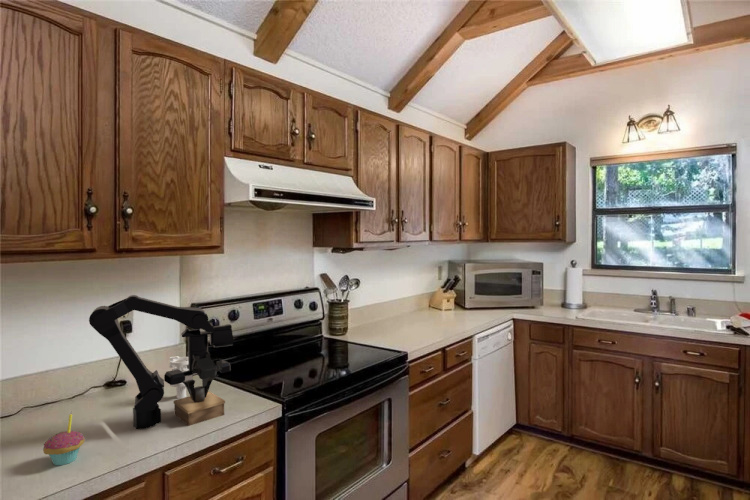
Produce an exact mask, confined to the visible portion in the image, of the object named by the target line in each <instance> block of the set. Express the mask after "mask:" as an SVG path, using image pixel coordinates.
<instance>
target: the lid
mask: <svg viewBox="0 0 750 500" xmlns="http://www.w3.org/2000/svg"><path fill="white" fill-rule="evenodd" d="M194 390H195V400H194V401H193V400H192V398H191V396H190V395H189V396H186V397H185V398H180V399H179V398H177V399H175V400H172V401H173V404H175V405H177V406H178V407H179V408H181V409H182V410H184V411H185V412H186V413H188V414H189V413H193V412H196V411H200V410H203V409H207V408H210V407H213V406H217V405H220V404H224V405H225V404H226V400H225V399H223V398H221V397H220V396H218V395H216V394H214V393H213V392H212V391H209V390H208V393H207V396H206V397H205V389H204V387H203V386H202V385H201V386H199V385H198V386H194Z"/></svg>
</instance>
